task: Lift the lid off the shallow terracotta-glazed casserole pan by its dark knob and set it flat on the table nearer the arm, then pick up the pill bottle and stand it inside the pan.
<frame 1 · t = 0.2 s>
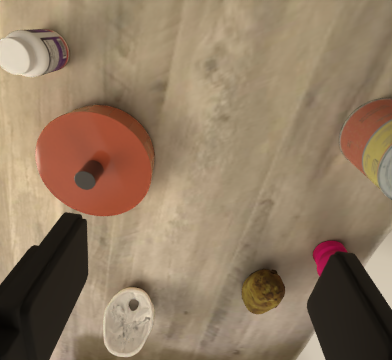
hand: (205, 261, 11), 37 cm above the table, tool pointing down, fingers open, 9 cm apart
pill bottle: (52, 50, 42), on the table
potato: (257, 278, 62), on the table
canned food: (374, 133, 46), on the table
skull bowl: (134, 302, 67), on the table
lid: (95, 167, 44), point 5 cm above the table, touching pot
pepper mill: (328, 251, 58), on the table
pot: (106, 153, 49), on the table
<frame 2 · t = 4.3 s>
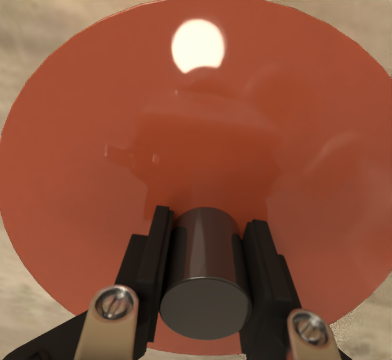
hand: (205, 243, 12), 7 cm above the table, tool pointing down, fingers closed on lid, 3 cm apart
lid: (205, 228, 13), point 6 cm above the table, touching gripper, pot
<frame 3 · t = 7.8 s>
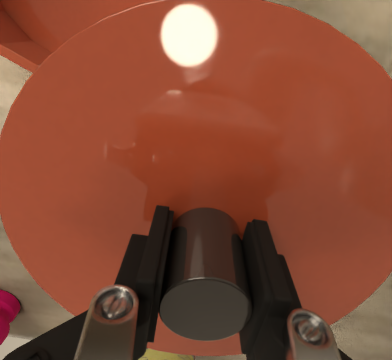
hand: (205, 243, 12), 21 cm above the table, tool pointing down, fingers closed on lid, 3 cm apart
canned food: (160, 310, 45), on the table
lid: (205, 228, 13), point 20 cm above the table, touching gripper
pepper mill: (1, 301, 45), on the table
when the fingers open (2 cm above the table, at t = 11.7 s): lid stays where it is, point 1 cm above the table.
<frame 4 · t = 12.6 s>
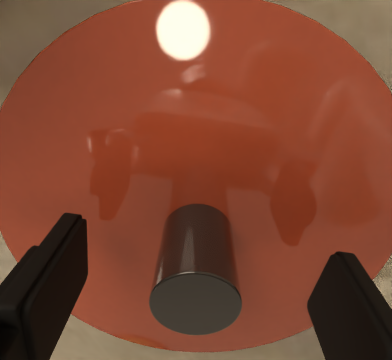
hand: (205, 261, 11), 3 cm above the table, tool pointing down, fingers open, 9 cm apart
lid: (197, 224, 13), point 1 cm above the table
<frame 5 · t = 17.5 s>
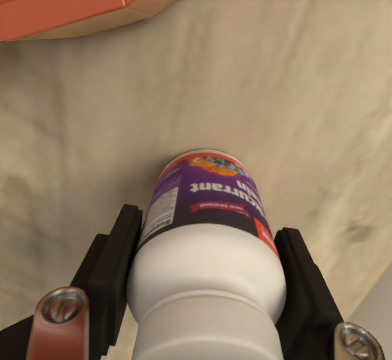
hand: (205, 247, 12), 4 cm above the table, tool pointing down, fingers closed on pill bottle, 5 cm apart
pill bottle: (205, 190, 16), on the table, touching gripper
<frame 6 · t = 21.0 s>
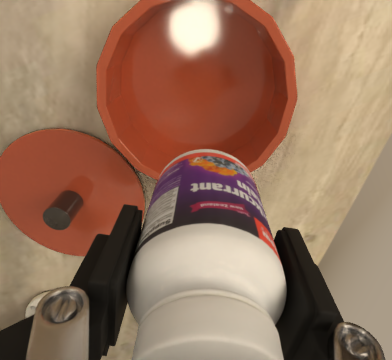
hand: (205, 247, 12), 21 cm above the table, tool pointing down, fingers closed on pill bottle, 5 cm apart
pill bottle: (205, 189, 16), point 16 cm above the table, touching gripper
lid: (72, 198, 35), point 1 cm above the table
pot: (197, 90, 29), on the table
when the fingers open (5 cm above the table, at t = 24.9 s): pill bottle stays where it is, resting on pot.
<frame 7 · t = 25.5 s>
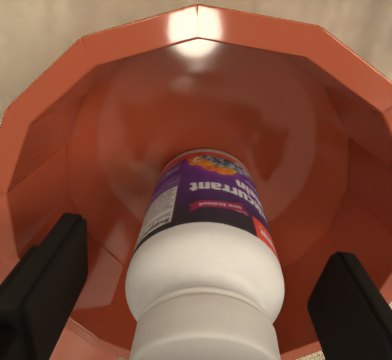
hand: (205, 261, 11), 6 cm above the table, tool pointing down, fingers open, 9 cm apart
pill bottle: (204, 189, 16), resting on pot
lid: (5, 331, 22), point 1 cm above the table
pot: (205, 186, 16), on the table
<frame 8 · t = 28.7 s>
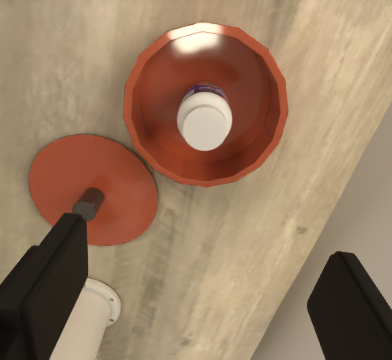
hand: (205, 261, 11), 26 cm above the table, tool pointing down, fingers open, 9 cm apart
pill bottle: (204, 104, 34), resting on pot
lid: (95, 194, 40), point 1 cm above the table
pot: (204, 103, 34), on the table
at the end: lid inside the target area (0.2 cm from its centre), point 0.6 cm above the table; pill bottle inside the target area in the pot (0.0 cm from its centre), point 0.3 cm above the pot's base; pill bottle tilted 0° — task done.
